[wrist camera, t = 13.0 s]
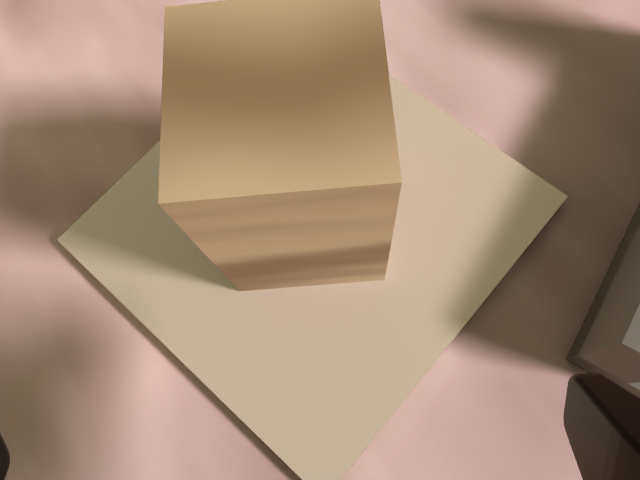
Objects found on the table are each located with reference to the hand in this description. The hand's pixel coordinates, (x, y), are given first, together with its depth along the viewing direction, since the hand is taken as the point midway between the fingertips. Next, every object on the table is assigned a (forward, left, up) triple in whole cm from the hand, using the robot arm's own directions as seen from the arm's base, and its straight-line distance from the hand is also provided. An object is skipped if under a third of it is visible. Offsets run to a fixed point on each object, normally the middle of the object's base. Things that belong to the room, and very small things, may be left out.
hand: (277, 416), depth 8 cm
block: (+5, +5, -9) cm, 12 cm away
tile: (+5, +5, -10) cm, 12 cm away
